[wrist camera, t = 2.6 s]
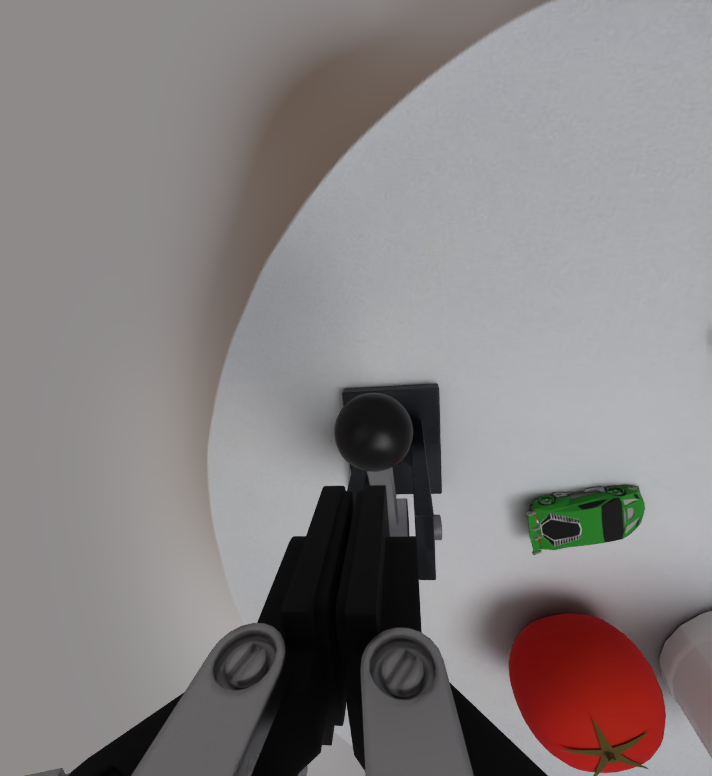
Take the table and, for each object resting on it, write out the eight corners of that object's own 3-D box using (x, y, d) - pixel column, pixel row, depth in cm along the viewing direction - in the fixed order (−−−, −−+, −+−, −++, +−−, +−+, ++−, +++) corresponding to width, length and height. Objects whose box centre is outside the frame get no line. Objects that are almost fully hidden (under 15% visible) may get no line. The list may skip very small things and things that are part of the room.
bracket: (344, 388, 33) (307, 471, 20) (437, 383, 32) (462, 467, 19) (354, 487, 37) (329, 615, 24) (440, 486, 36) (463, 618, 23)
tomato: (523, 685, 42) (560, 815, 32) (481, 609, 40) (507, 725, 30) (638, 658, 39) (716, 792, 30) (601, 574, 37) (674, 691, 27)
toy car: (639, 479, 33) (656, 494, 31) (641, 524, 34) (657, 542, 32) (518, 497, 35) (526, 513, 33) (525, 539, 36) (533, 557, 34)
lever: (331, 378, 16) (323, 444, 14) (410, 374, 15) (414, 441, 13) (367, 511, 25) (365, 562, 23) (416, 511, 25) (418, 563, 23)
